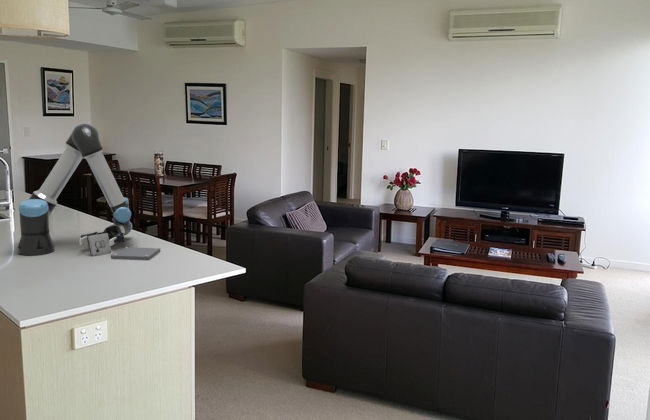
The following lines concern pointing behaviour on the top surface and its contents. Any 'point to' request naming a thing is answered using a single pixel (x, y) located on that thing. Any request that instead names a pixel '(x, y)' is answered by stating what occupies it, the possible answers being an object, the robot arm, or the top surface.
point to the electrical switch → (99, 244)
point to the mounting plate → (135, 253)
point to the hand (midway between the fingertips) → (95, 242)
